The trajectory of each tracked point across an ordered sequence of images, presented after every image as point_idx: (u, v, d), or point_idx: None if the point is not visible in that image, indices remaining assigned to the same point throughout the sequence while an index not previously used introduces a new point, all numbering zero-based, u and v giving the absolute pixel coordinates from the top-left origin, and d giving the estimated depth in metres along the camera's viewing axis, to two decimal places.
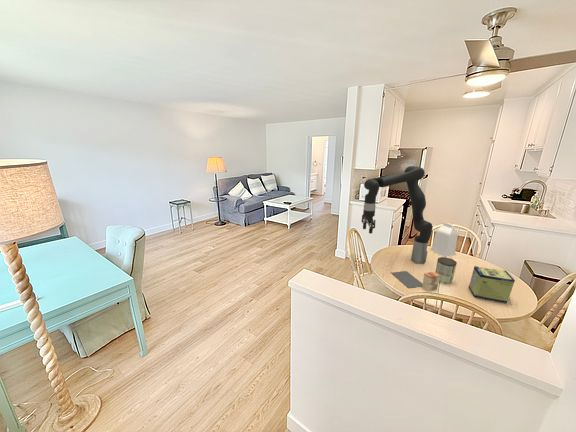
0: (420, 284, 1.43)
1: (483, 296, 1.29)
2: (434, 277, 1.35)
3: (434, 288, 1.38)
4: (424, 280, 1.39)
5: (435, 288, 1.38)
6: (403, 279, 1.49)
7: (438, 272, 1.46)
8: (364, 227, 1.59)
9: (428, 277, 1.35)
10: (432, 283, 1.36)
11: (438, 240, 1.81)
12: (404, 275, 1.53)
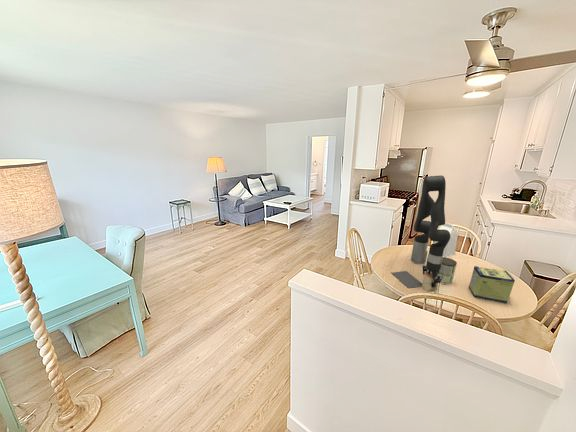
0: (420, 284, 1.43)
1: (483, 296, 1.29)
2: None
3: (434, 288, 1.38)
4: (424, 280, 1.39)
5: (435, 288, 1.38)
6: (403, 279, 1.49)
7: None
8: None
9: (428, 277, 1.36)
10: None
11: None
12: (404, 275, 1.53)
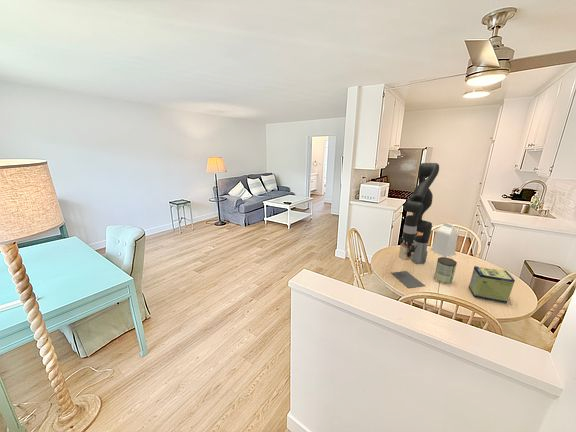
0: (420, 284, 1.43)
1: (483, 296, 1.29)
2: None
3: (410, 257, 1.47)
4: (400, 250, 1.49)
5: (410, 258, 1.48)
6: (403, 279, 1.49)
7: (438, 272, 1.46)
8: None
9: (403, 247, 1.45)
10: None
11: (438, 240, 1.81)
12: (404, 275, 1.53)
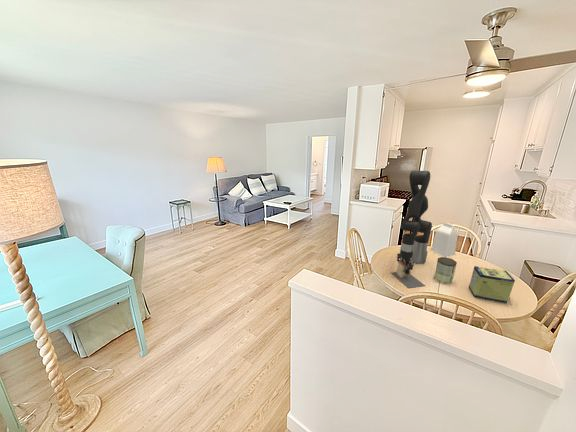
0: (420, 284, 1.43)
1: (483, 296, 1.29)
2: None
3: (407, 275, 1.51)
4: (398, 267, 1.53)
5: (408, 275, 1.52)
6: (403, 279, 1.49)
7: (438, 272, 1.46)
8: None
9: (401, 264, 1.49)
10: (405, 270, 1.50)
11: (438, 240, 1.81)
12: None
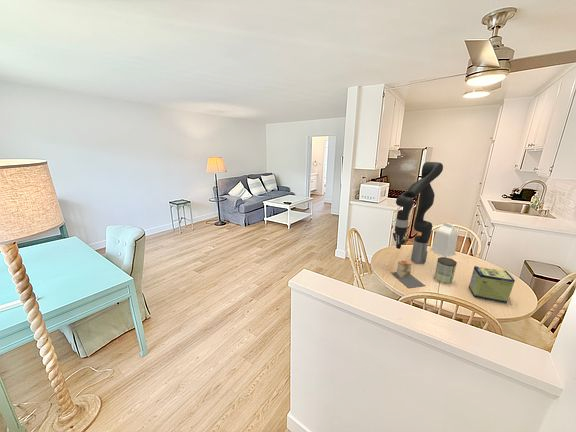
0: (420, 284, 1.43)
1: (483, 296, 1.29)
2: (406, 265, 1.49)
3: (407, 275, 1.51)
4: (398, 267, 1.53)
5: (408, 275, 1.52)
6: (403, 279, 1.49)
7: (438, 272, 1.46)
8: None
9: (401, 264, 1.49)
10: (405, 270, 1.50)
11: (438, 240, 1.81)
12: None
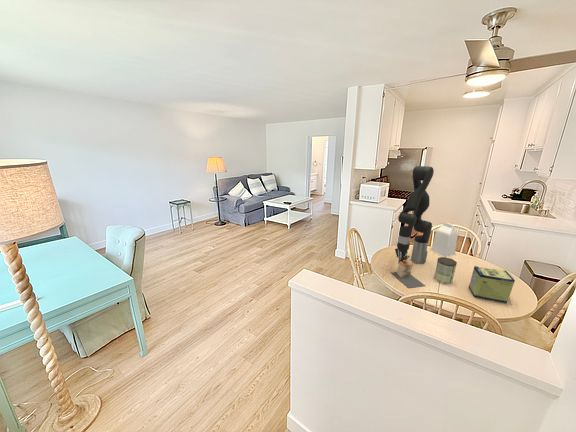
0: (420, 284, 1.43)
1: (483, 296, 1.29)
2: (407, 265, 1.48)
3: (407, 275, 1.51)
4: (398, 268, 1.52)
5: (408, 275, 1.51)
6: (403, 279, 1.49)
7: (438, 272, 1.46)
8: None
9: (402, 265, 1.48)
10: (405, 271, 1.49)
11: (438, 240, 1.81)
12: None
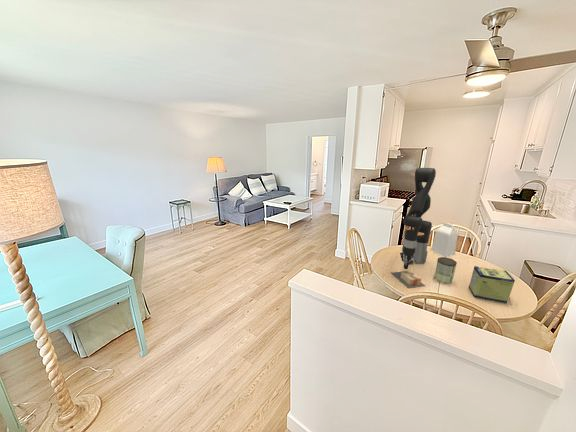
0: (420, 284, 1.43)
1: (483, 296, 1.29)
2: None
3: None
4: (406, 277, 1.45)
5: None
6: None
7: (438, 272, 1.46)
8: None
9: (409, 283, 1.42)
10: None
11: (438, 240, 1.81)
12: None
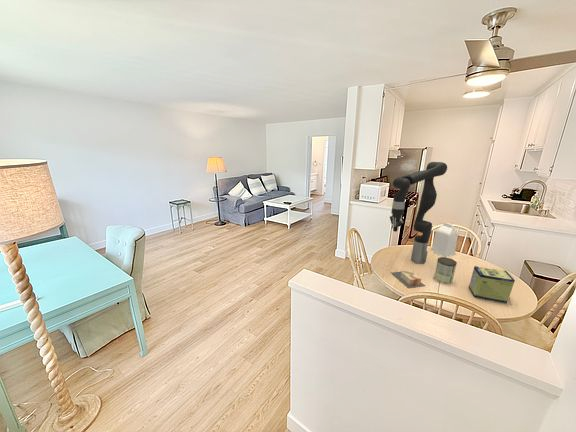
0: (420, 284, 1.43)
1: (483, 296, 1.29)
2: None
3: None
4: (406, 277, 1.45)
5: None
6: None
7: (438, 272, 1.46)
8: None
9: (409, 283, 1.42)
10: None
11: (438, 240, 1.81)
12: None
